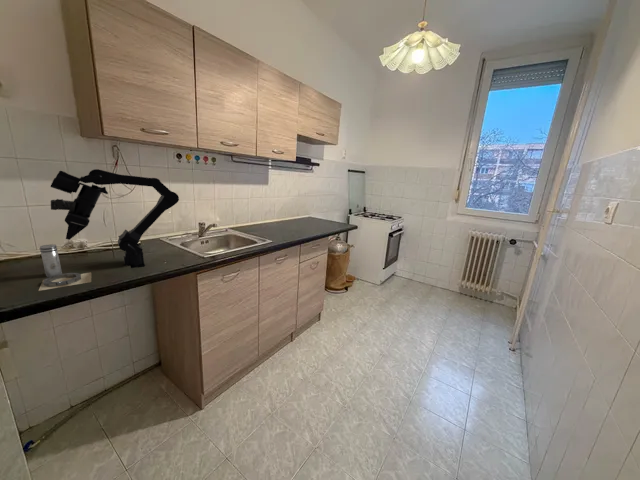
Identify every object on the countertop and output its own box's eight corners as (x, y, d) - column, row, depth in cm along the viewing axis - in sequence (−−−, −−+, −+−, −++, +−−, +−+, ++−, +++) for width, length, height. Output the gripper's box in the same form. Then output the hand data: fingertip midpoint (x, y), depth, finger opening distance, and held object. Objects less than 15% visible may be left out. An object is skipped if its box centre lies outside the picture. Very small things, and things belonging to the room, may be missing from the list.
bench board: (91, 274, 99) (91, 272, 99) (91, 284, 91) (91, 281, 91) (43, 282, 91) (43, 279, 91) (38, 293, 83) (38, 290, 83)
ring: (81, 274, 97) (81, 271, 97) (80, 282, 90) (80, 279, 90) (46, 279, 91) (45, 276, 91) (42, 288, 84) (41, 285, 84)
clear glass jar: (63, 274, 98) (56, 243, 95) (62, 277, 95) (55, 246, 92) (47, 276, 96) (40, 245, 93) (45, 280, 93) (38, 248, 90)
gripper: (60, 187, 98) (42, 224, 97) (55, 191, 84) (34, 234, 83) (96, 200, 105) (80, 234, 104) (97, 205, 92) (78, 244, 91)
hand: (68, 236), depth 96 cm, fingers open, 9 cm apart
